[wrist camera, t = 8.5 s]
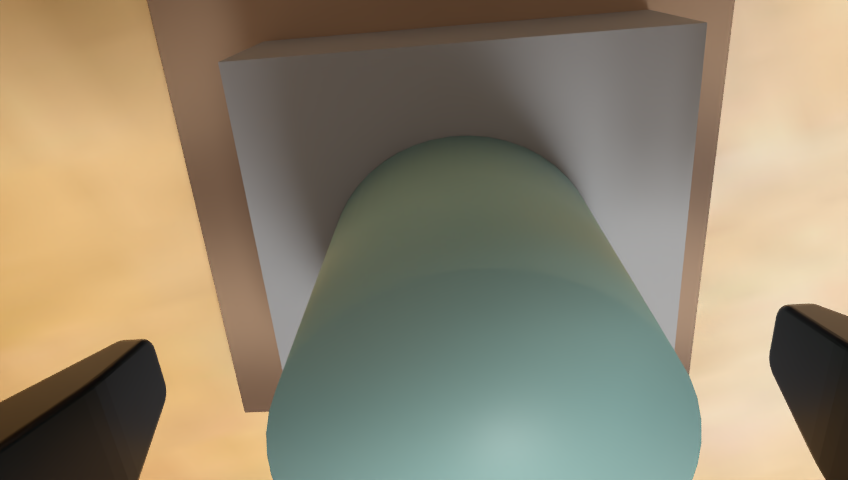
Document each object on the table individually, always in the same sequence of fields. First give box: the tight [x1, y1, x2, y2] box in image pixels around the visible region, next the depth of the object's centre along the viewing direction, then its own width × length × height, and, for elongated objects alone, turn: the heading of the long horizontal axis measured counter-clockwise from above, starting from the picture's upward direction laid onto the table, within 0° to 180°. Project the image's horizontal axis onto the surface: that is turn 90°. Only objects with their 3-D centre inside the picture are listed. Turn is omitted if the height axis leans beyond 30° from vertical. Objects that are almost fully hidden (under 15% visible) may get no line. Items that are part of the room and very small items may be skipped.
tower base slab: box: [147, 0, 735, 412], centre depth 16 cm, size 12×12×2 cm
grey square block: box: [218, 10, 707, 371], centre depth 13 cm, size 8×8×3 cm
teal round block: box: [266, 136, 701, 480], centre depth 9 cm, size 5×5×5 cm
